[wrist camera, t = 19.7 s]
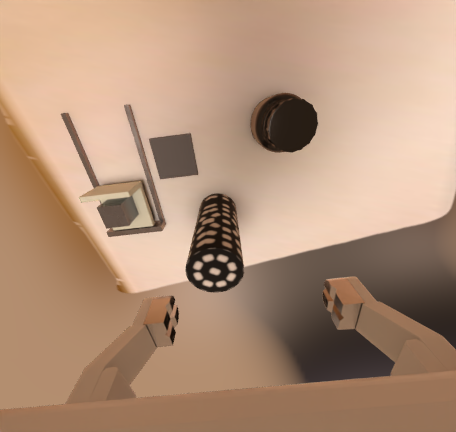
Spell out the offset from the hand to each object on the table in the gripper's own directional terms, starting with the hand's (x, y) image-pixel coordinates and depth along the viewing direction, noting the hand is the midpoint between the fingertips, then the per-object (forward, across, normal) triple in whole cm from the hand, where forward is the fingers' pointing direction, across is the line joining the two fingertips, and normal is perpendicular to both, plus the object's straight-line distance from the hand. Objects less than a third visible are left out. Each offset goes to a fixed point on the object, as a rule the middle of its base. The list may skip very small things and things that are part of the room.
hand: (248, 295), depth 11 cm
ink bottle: (+34, -9, -6) cm, 36 cm away
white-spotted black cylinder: (+34, +4, +11) cm, 36 cm away
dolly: (+34, +23, +6) cm, 42 cm away
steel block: (+31, +23, +6) cm, 39 cm away
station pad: (+34, +11, -2) cm, 36 cm away
